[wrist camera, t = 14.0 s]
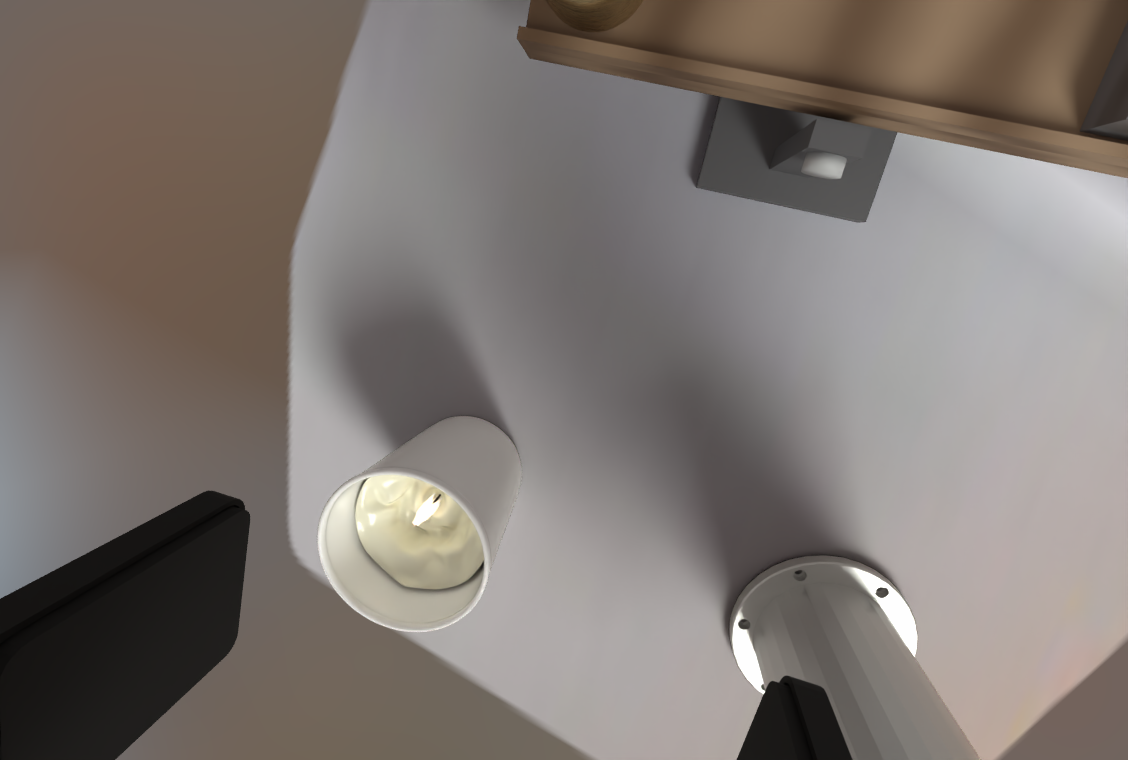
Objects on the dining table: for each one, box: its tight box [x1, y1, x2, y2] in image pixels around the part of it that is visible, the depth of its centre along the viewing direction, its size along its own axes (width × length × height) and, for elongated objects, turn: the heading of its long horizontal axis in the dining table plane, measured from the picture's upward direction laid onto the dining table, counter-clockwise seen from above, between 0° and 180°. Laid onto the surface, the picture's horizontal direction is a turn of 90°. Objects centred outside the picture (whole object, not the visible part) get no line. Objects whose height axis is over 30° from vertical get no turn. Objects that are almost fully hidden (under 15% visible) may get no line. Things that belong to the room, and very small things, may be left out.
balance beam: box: [517, 0, 1128, 178], centre depth 23 cm, size 30×8×4 cm, turn 78°
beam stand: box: [696, 97, 897, 222], centre depth 28 cm, size 10×15×9 cm, turn 168°
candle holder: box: [317, 416, 522, 632], centre depth 36 cm, size 10×10×12 cm
